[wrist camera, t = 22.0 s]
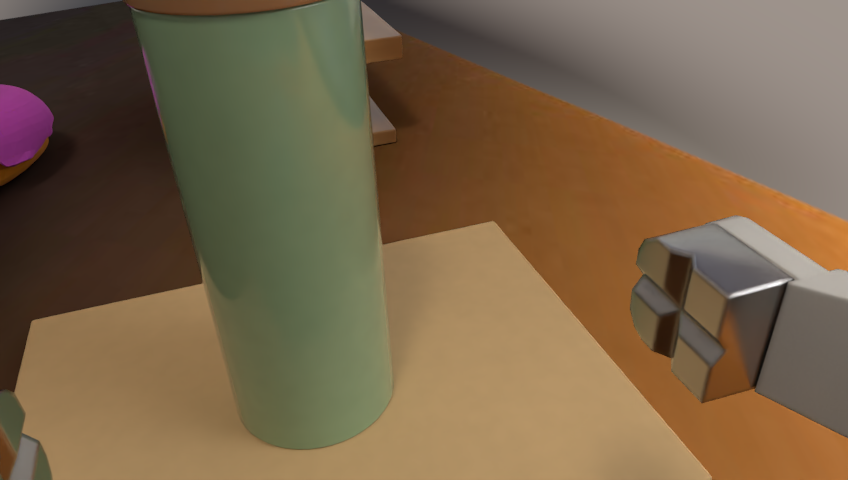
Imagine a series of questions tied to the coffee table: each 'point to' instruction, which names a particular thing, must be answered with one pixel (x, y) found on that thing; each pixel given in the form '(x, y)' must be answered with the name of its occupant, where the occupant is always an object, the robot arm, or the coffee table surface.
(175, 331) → the mat
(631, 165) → the coffee table surface
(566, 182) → the coffee table surface
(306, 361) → the jar
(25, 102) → the donut
